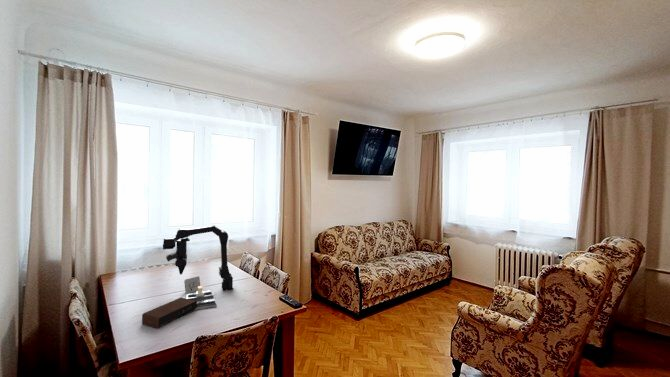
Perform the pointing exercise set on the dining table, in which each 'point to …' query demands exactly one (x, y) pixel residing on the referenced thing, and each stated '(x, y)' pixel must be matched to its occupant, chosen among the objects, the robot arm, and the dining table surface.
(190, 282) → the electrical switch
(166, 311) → the dark wooden block
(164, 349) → the dining table surface
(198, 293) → the breaker lever
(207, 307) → the rounded grey rails
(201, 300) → the breaker panel
